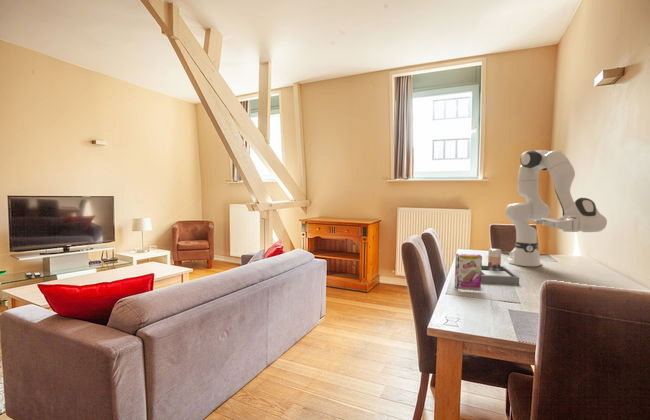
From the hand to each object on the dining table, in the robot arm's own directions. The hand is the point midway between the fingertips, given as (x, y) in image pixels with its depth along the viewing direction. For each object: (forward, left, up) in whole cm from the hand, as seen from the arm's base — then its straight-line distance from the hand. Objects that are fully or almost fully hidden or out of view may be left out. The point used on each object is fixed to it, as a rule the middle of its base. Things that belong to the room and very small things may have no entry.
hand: (538, 222), depth 175 cm
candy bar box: (+24, -39, -30) cm, 55 cm away
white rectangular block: (+10, -23, -29) cm, 38 cm away
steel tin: (0, -21, -29) cm, 36 cm away
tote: (+5, -23, -30) cm, 38 cm away
